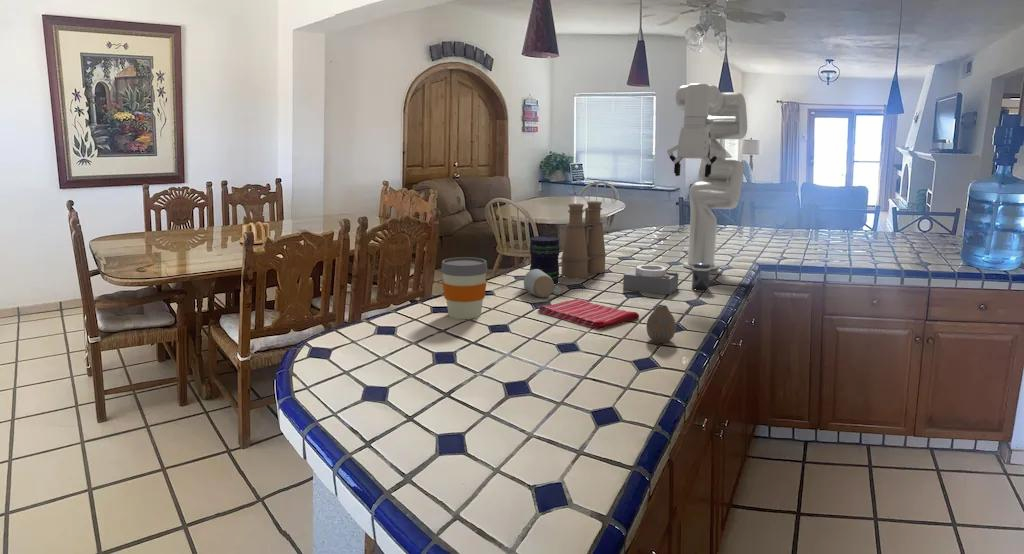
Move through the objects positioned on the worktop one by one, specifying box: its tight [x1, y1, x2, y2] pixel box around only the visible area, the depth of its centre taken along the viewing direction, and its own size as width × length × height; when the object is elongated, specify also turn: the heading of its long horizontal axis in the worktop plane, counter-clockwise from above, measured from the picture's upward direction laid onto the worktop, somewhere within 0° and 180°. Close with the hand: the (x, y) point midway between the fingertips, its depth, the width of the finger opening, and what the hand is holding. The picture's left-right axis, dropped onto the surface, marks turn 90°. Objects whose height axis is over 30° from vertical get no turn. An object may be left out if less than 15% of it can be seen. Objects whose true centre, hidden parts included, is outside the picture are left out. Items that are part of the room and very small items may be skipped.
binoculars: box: [560, 200, 608, 279], centre depth 238 cm, size 21×10×25 cm, turn 138°
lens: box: [691, 263, 711, 291], centre depth 217 cm, size 5×5×8 cm
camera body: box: [622, 264, 679, 296], centre depth 217 cm, size 10×15×7 cm, turn 62°
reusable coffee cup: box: [440, 256, 488, 320], centre depth 185 cm, size 13×12×15 cm
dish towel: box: [537, 298, 640, 330], centre depth 186 cm, size 17×24×3 cm
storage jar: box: [529, 235, 561, 285], centre depth 225 cm, size 10×10×15 cm
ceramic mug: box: [523, 269, 561, 298], centre depth 208 cm, size 11×8×8 cm
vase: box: [646, 304, 677, 344], centre depth 164 cm, size 7×7×9 cm
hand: (692, 176), depth 223 cm, fingers open, 9 cm apart
